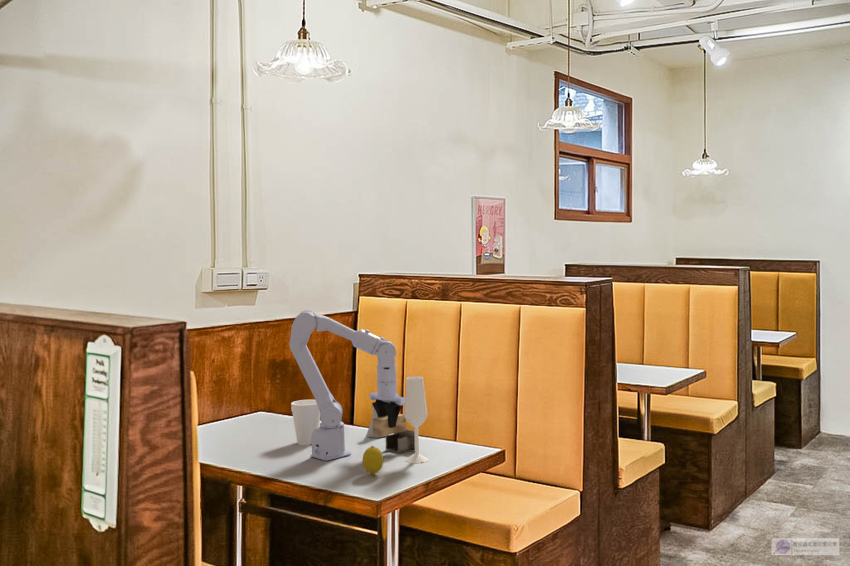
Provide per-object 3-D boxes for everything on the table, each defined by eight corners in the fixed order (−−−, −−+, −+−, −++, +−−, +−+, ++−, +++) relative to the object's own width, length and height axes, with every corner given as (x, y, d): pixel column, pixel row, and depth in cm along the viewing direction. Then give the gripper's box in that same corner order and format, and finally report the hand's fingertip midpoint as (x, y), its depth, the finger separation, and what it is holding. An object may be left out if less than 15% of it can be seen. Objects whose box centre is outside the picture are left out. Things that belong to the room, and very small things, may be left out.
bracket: (403, 454, 231) (402, 434, 231) (381, 449, 238) (381, 429, 238) (417, 450, 235) (417, 431, 235) (396, 445, 242) (395, 426, 242)
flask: (378, 439, 251) (378, 408, 251) (362, 436, 256) (361, 406, 255) (393, 434, 257) (392, 404, 256) (376, 432, 261) (375, 402, 261)
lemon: (383, 471, 214) (382, 443, 213) (383, 477, 208) (382, 448, 208) (363, 472, 214) (362, 443, 213) (362, 478, 208) (361, 448, 208)
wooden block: (398, 428, 239) (397, 413, 238) (405, 430, 236) (405, 414, 236) (373, 434, 232) (372, 418, 232) (380, 436, 229) (380, 420, 229)
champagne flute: (402, 458, 227) (400, 377, 226) (423, 456, 229) (421, 375, 228) (410, 464, 220) (407, 380, 219) (432, 461, 223) (430, 378, 222)
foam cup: (325, 444, 246) (324, 403, 246) (296, 447, 243) (295, 406, 242) (318, 437, 255) (316, 398, 255) (290, 441, 252) (288, 401, 251)
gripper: (412, 381, 230) (414, 427, 231) (381, 376, 241) (382, 420, 241) (394, 385, 226) (396, 431, 226) (363, 379, 236) (364, 424, 237)
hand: (388, 426), depth 233 cm, fingers closed on wooden block, 3 cm apart
